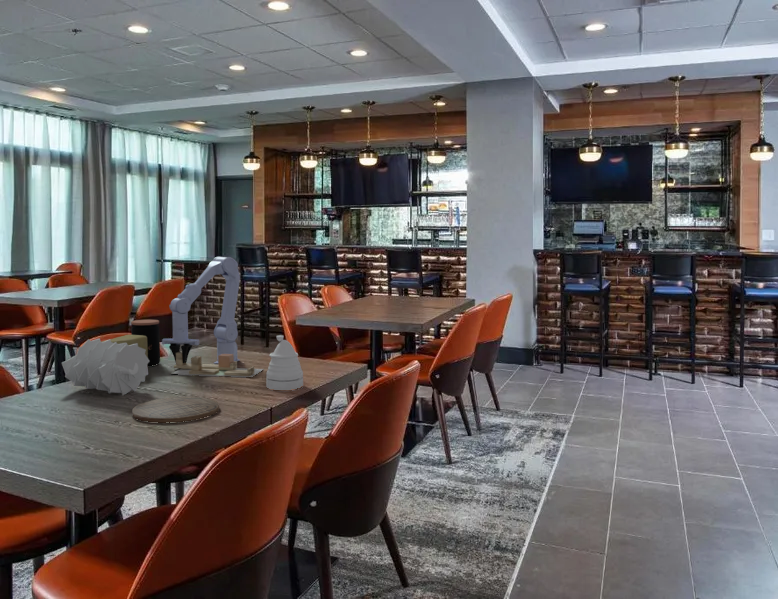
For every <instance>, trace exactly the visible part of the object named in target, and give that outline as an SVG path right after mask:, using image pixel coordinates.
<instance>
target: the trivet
mask: <svg viewBox="0 0 778 599" xmlns="http://www.w3.org/2000/svg"><path fill="white" fill-rule="evenodd" d="M131 410H132V414H133V415H132V418H133V417H134V418H135V419H134V418H133V419H134V420H136V419H138V420H141V421H148V422H158V423H166V422H169V423H170V422H183V421H184V422H185V421H191V420H196V419H200V418H204V417H207V416H210V415H213V414H215V413H216V412H218V413H219V411H220V403H219V401H216V400H214V399H212V398H208V397H207V398H206V397H201V396H176V397H175V396H173V397H164V398H157V399H152V400H147V401H144V402H141V403H139V404H137V405H136V406H134V407H133V408H132V409H131ZM218 410H219V411H218ZM216 414H217V413H216ZM216 414H215V415H216ZM213 416H214V415H213ZM138 420H137V421H138ZM141 421H140V422H141ZM191 422H192V421H191ZM185 423H186V422H185Z"/></svg>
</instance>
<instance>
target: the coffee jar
mask: <svg viewBox="0 0 778 599" xmlns="http://www.w3.org/2000/svg"><path fill="white" fill-rule="evenodd" d="M130 323H131V325H132V326H131V328H130V329H131V330H130V331H131V334H130V335H142V336H146V337H147V347H148V359H149V361H150V362H149V363H148V366H152V365H156V364H158V365H160V362H161V342H160V341H161V340H160V339H161V338H160V337H161V335H160V326H159V324H160V320H158V319H136V320H131V321H130ZM152 367H153V366H152Z"/></svg>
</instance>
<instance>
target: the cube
mask: <svg viewBox="0 0 778 599" xmlns="http://www.w3.org/2000/svg"><path fill="white" fill-rule="evenodd" d="M232 362H234V354H221V355H219V356H218V364H217V365H218V366H219V367H229V368H230V363H232Z"/></svg>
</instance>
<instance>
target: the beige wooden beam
mask: <svg viewBox="0 0 778 599" xmlns="http://www.w3.org/2000/svg"><path fill="white" fill-rule="evenodd" d="M236 368H238V361H234V362H232V363H230V368H229V367H219V366H218V364H214V363H213V364H211V363H209V364H208V363H202V369H219V370H234V369H236ZM173 369H191V363H188V362H186V363H183V355H182V350H180V351H179V352H177V353H176V362H175V365H173Z"/></svg>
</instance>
